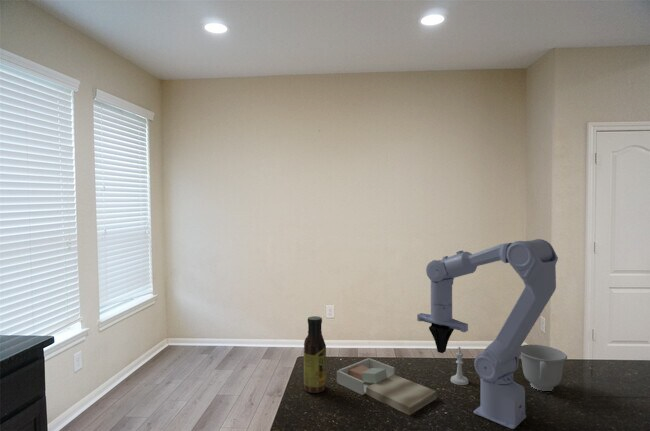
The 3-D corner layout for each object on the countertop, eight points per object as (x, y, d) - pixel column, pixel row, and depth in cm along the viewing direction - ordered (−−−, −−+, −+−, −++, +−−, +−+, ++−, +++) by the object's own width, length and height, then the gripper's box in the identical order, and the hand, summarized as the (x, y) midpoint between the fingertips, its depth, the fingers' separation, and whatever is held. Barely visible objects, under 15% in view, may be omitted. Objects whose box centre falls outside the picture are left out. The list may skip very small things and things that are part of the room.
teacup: (517, 396, 100) (517, 359, 99) (517, 374, 113) (517, 341, 113) (571, 407, 94) (571, 367, 94) (565, 383, 107) (565, 348, 107)
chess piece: (465, 377, 111) (465, 344, 111) (470, 385, 106) (470, 350, 106) (448, 377, 111) (448, 343, 111) (452, 384, 106) (452, 350, 106)
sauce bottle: (323, 395, 101) (323, 322, 101) (301, 393, 102) (300, 320, 102) (328, 384, 107) (327, 315, 107) (307, 382, 108) (306, 314, 108)
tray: (394, 379, 110) (394, 367, 110) (362, 395, 101) (362, 382, 101) (368, 369, 117) (368, 357, 117) (336, 382, 108) (336, 370, 108)
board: (436, 398, 99) (436, 391, 99) (409, 415, 91) (409, 407, 91) (393, 381, 109) (393, 374, 109) (366, 394, 101) (366, 387, 101)
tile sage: (387, 377, 106) (385, 368, 107) (376, 383, 103) (374, 373, 103) (374, 376, 110) (372, 367, 110) (362, 381, 106) (361, 372, 107)
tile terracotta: (372, 378, 110) (372, 369, 110) (361, 383, 107) (361, 374, 107) (359, 372, 114) (359, 364, 114) (348, 377, 110) (348, 369, 110)
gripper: (473, 305, 101) (473, 355, 101) (426, 296, 112) (426, 341, 112) (460, 310, 96) (460, 362, 97) (413, 300, 107) (413, 347, 107)
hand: (441, 351), depth 104 cm, fingers closed
